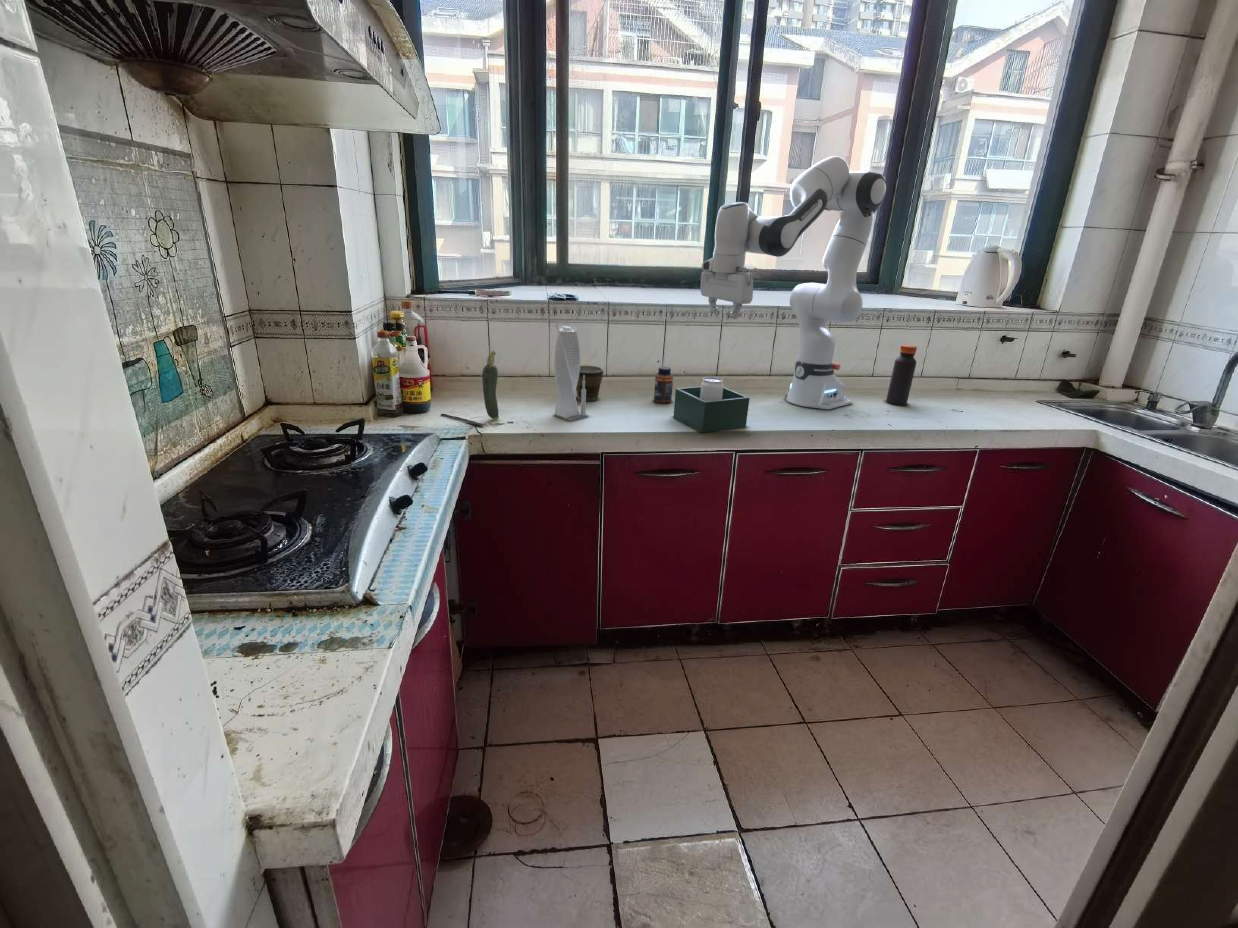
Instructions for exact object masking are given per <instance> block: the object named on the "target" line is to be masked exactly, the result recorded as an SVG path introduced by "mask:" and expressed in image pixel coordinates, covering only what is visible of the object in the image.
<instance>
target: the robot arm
mask: <svg viewBox="0 0 1238 928" xmlns="http://www.w3.org/2000/svg"><path fill="white" fill-rule="evenodd" d="M887 190H888V185H887V180H886V178H885V176H884V175H883V174H881V173H880V172H877V171H873V170H872V171H861V170H852V171H850V166H849V165H848V162H847V161H846V160H845V159H844V158H843V157H840V156H837V155H832V156H829V157H826V158H824V159H822V160H820V161H818V162H816V163H815V164H813V165H811V166H810V167H809V168H808V169H806V170H805V171H803V172H802V173H801V174H800V175H798V176H797V178H796V179H795V180H794V181H793V182H792V183H791V186H790V191H789V198H790V202H791V204H792V207H793V210H792V211H791V212H790V213H789V214H787V215H781V216H760V215H759V214H757V213H756V212H754V211H753V210H752V209H751V208H750V207H749V203H748V202H746V201H736V202H728V203H725V204H723V205H722V206H720V208H719V210H718V212H717V217H716V220H715V221H716V222H715V230H714V241H715V246H714V250H713V252H712V257H711V258H709V259H707V260H705V261H703V262H702V263H701V270H702V271H701V277H700V294H701V296H703V297H707V298H708V305H709V308H710V309H709V313H710V314H711V315H717V314H718V313H719V307H717V302H718V300H721V301H725V302H730V303H732V307H733V309H732V311H730V312H729V319H731V320H738V318H739V313H740V311H741V309H742V307H743V305H749V304H751V303H752V302H753V298H754V279H753V273H752V271H751V270H750V268H748V267H745V265H746V264H745V263H746V256H747V255H746V254H747V253H750V254H757V255H758V254H759V255H768V256H772V257H776V258H779V257H783V256H785V255H787V254H788V253H789V252H790V251H791V250H792V249H793V248H794V246H795V244H796V243H797V241H798V239H799V238H800V236H802V234H804V232H805V231H806V230H807V229H808V228H809V227H810V226H811V225H812V224H813V223H814V222H815V221H817V219H818V218H819V217H820V216H821V215H822V214H823V212H824V211H829V212H831V211H834V212H840V215H839V220H838V221H837V223H836V225H835V227H834V229H833V232H832V234H831V237H830V240H829V241H828V245H827V246H826V250H825V252H824V255H823V257H822V266H823V267H824V269H825V270H826V271H827V281H826V283H820V282H805V283H799V284H797V285H796V286H795V287H794V288H793V289H792V291H791V293H790V295H789V306H790V309H791V310H792V311H793V313H794V314H795V317H796V319H797V322H798V327H799V333H800V334H799V338H800V340H799V348H798V355H797V359H796V360H795V364H794V374H793V377H792V381H791V383H790V385H789V392H788V393H787V396H786V401H787V402H788V403H790V404H793V405H795V406H800V407H805V408H814V409H815V408H816V409H821V410H831V409H835V408H840V407H844V406H848V405H851V404H852V400H851V399H850V398H848V397H846V386H845V384H844V383H843V382H842V381H841V380H840V379H839V377H837V375H835V371H840V369H841V368H842V367H841V364H840V363H833V359H834V358H833V357H834V353H835V348H836V347H835V346H836V338H835V336H834V335H833V334H832V332H831V331H830V329H829V327H828V322H833V323H848V322H850V323H851V322H852V321H854V320H856V319H857V318H858V316H859V315H860V314H861V311H862V309H863V304H864V303H863V297H862V294H861V293H860V292H859V289H858V286H857V274H858V269H859V266H860V263H861V260H862V258H863V254H864V252H865V250H866V247H867V244H868V242H869V239H870V237H871V233H872V229H873V223H874V217H875V216H874V214H875V213H876V211H877V210H878V209H879V208H880V207H881V205H882V204H883V202H884V200H885V198H886V195H887Z"/></svg>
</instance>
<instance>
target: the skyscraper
mask: <svg viewBox="0 0 1238 928" xmlns="http://www.w3.org/2000/svg"><path fill="white" fill-rule="evenodd" d="M555 327H556V331H557V337H556V340H555V341H556V342H555V349H554V360H553V361H554V363H553V364H554V378H555V385H556V389H557V393H558V395H557V400H556V405H555V410H554V414H553V415H554V417H557V418H560V419H563V420H565V421H568V422H574V421H577V420H581V419H584V418H588V414H587V401H586V389H585V381H584V378H585V375H583V388H582V389H581V400H580V406H579V407H580V411H579V407H578V402H577V397H576V391H577V390H576V387H577V383H578V378H579V372H580V366H581V348H580V340H579V336H578V327H577V326H574V325H572V324H571V323H568V322H564V321H563V322H562V321H560V322H556V323H555Z"/></svg>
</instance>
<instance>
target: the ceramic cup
mask: <svg viewBox="0 0 1238 928" xmlns="http://www.w3.org/2000/svg"><path fill="white" fill-rule="evenodd" d="M583 375H585V378H584V381H585V389H586V402H595V401H597V400H598V399H599V392H600V390H601V389H600V388H601V384H602V381H603V375H604V368H603V367H600V366H597V365H580V372H579V378H578V383H577V387H576V390H575V391H576V396H577V397H576V398H577V400H578V401H581V389H582V388H583Z"/></svg>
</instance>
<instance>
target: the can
mask: <svg viewBox="0 0 1238 928" xmlns="http://www.w3.org/2000/svg"><path fill="white" fill-rule="evenodd" d="M700 386H701V392H700V399H702V400H704V401H716V400H722V393H723V387H724V383H723V379H722V378H719V377H714V376H713V377H712V376H707V377H704V378H703V377H702V381H701V384H700Z"/></svg>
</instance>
